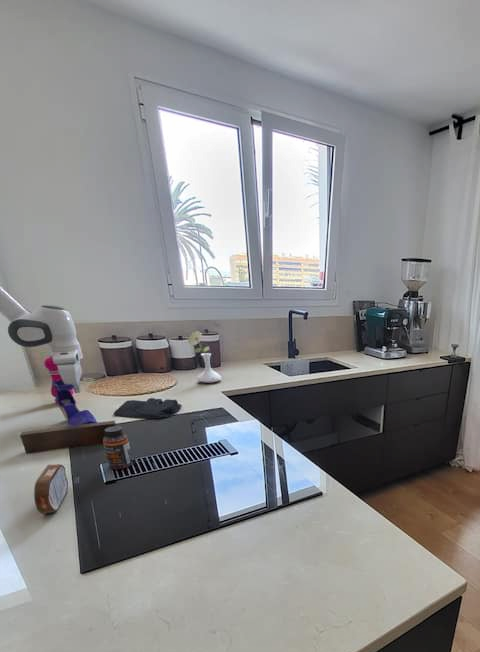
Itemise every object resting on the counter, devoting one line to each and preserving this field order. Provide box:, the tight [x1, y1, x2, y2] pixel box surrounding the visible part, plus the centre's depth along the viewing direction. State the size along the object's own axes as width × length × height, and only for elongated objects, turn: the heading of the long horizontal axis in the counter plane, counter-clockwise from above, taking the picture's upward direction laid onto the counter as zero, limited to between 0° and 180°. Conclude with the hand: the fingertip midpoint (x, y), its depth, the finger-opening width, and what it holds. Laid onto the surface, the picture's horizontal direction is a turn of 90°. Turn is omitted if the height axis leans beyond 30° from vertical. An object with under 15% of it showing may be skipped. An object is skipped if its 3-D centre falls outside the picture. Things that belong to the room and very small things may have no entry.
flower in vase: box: [187, 330, 222, 384], centre depth 191 cm, size 13×11×25 cm
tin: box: [33, 463, 69, 515], centre depth 91 cm, size 15×3×8 cm, turn 22°
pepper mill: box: [43, 352, 74, 405], centre depth 157 cm, size 7×7×20 cm
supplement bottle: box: [102, 425, 134, 470], centre depth 109 cm, size 6×6×11 cm
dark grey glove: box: [113, 397, 183, 420], centre depth 153 cm, size 15×22×5 cm
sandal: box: [51, 380, 99, 426], centre depth 136 cm, size 8×20×15 cm, turn 47°
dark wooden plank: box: [19, 420, 117, 455], centre depth 122 cm, size 24×3×6 cm, turn 118°
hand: (78, 391), depth 144 cm, fingers closed
